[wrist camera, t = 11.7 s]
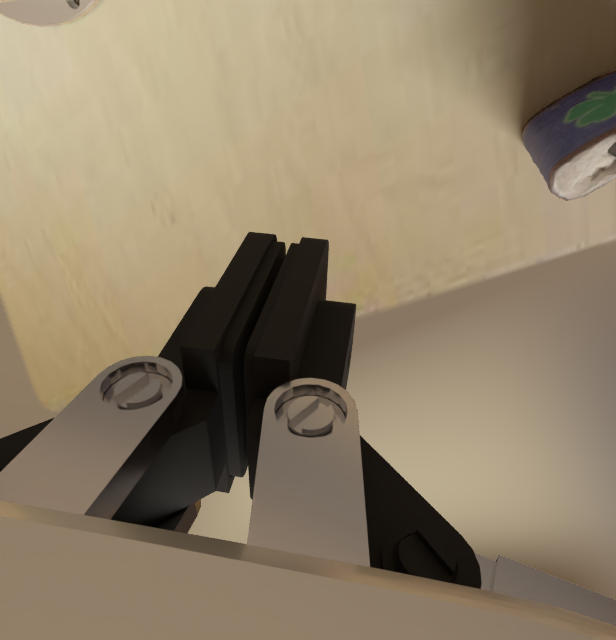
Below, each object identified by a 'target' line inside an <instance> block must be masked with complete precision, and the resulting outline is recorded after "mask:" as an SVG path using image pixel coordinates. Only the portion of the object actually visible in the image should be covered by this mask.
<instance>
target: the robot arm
mask: <svg viewBox="0 0 616 640" xmlns="http://www.w3.org/2000/svg"><path fill="white" fill-rule="evenodd" d="M79 1H80V3H79V2H78V0H0V14H2V15H4V16H5V17H8V18H10V19H13V20H15V21H18V22H21V23H23V24H29V25H34V26H40V27H42V26H56V25H61V24H66V23H70V22H73V21H75V20H77V19H79V18H81V17H83V16H85V15H86V14H87V13H88V12H90V11H91V10H92V9H93V8H94V7H95V6H96V5H97V4H98V3H99V2H100V0H79ZM328 251H329V242H328V240H324V239H314V238H304V237H302V239H301V241H300V243H299V244H296V243H291V245H290V247H289V250H288V252H287V254H286V248H285V243H284V242H277V237H276V235H274V234H265V233H255V232H249V233H248V234H247V236H246V237H245V239H244V241H243V242H242V244H241V246H240V247H239V249H238V251H237V252H236V254H235V256H234V257H233V259H232V261H231V262H230V264H229V266H228V267H227V269H226V270H225V272H224V274H223V275H222V277H221V279H220V280H219V282H218V284H217V285H216V287H203V288H202V290H201V291H200V292H199V294H198V295H197V297H196V298H195V300H194V301H193V303H192V304H191V306H190V308H189V309H188V311H187V312H186V314H185V315H184V317H183V318H182V320H181V322H180V323H179V325H178V326H177V328H176V329H175V331H174V332H173V334H172V336H171V337H170V339H169V340H168V342H167V343H166V345H165V346H164V348H163V349H162V351H161V353H160V354H159V356H158V357H154V356H139V357H132V358H128V359H125V360H121V361H119V362H117V363H115V364H113V365H111V366H109V367H107V368H106V369H105V370H103V371H102V372H101V373H100V374H98V375H97V376H96V377H95V378H94V379H93V380H92V381H91V382H90V383H89V384H88V385H87V386H86V387H85V388H84V389H83V390H82V391H81V392H80V393H79V394H78V395H77V396H76V397H75V398H74V399H73V400H72V401H71V402H70V403H69V404H68V405H67V406H66V407H65V408H64V409H63V410H62V411H61V412H60V413H59V414H58V415H57V416H56V417H55V418H52V419H50V420H47V421H45V422H42V423H39V424H37V425H34V426H32V427H29V428H27V429H24V430H21V431H19V432H16V433H14V434H11V435H9V436H6V437H3V438H1V439H0V640H616V600H614V599H612V598H609V597H607V596H604V595H602V594H599V593H596V592H594V591H591V590H588V589H586V588H583V587H581V586H578V585H575V584H573V583H570V582H568V581H565V580H563V579H560V578H557V577H555V576H552V575H550V574H547V573H544V572H542V571H539V570H536V569H534V568H531V567H529V566H526V565H524V564H521V563H518V562H516V561H513V560H511V559H508V558H505V557H503V556H500V555H498V557H497V559H496V561H493V560H490V559H488V558H485V557H483V556H480V555H478V554H475V553H474V551H473V549H472V548H471V547H470V546H469V544H468V543H467V542H466V541H465V539H464V538H463V537H462V536H461V535H460V534H459V533H458V532H457V531H456V530H455V529H454V528H453V527H452V526H451V525H450V524H449V523H448V522H447V521H446V520H445V519H444V518H443V517H442V516H441V515H440V514H439V513H438V512H437V511H436V510H435V509H434V508H433V507H432V506H431V505H430V504H429V503H428V502H427V501H426V500H425V499H424V498H423V497H422V496H421V495H420V494H419V493H418V492H417V491H416V490H415V489H414V488H413V487H412V486H411V485H410V484H409V483H408V482H407V481H406V480H405V479H404V478H403V477H402V476H401V475H400V474H399V473H397V471H395V469H393V467H392V466H391V465H390V464H389V463H388V462H387V461H385V459H383V457H381V456H380V455H379V454H378V453H377V452H376V451H375V450H374V449H373V448H372V447H371V446H370V445H369V444H368V443H367V442H366V441H365V440H364V439H363V438H362V437H361V436H360V434H359V421H358V410H357V407H356V404H355V401H354V399H353V398H352V397H351V395H350V394H349V393H348V392H347V391H346V386H347V379H348V374H349V367H350V359H351V352H352V344H353V334H354V324H355V314H356V304H352V303H344V302H335V301H326V287H327V269H328ZM247 467H248V468H249V484H250V497H251V499H252V500H253V501H252V509H251V517H250V525H249V533H248V541H247V544H242V543H237V542H231V541H226V540H220V539H215V538H209V537H204V536H198V535H193V534H187V533H188V531H189V530H190V528H191V526H192V524H193V523H194V521H195V519H196V517H197V515H198V513H199V510H200V507H201V499H202V498H204V497H205V496H207V495H209V494H211V493H213V492H215V491H220V492H226V493H229V491H230V488H231V486H232V483H233V480H234V477H235V476H237V477H243V476H244V475H245V472H246V470H247Z"/></svg>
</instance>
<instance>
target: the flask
mask: <svg viewBox="0 0 616 640" xmlns="http://www.w3.org/2000/svg"><path fill="white" fill-rule="evenodd" d="M522 141H523V145H524V146H525V148H526V149H527V151H528V152H529V153H530V155H531V157H532V160H533V162H534V163H535V164H536V165H537V167H538V168H539V170H540V173H541V174H542V175H543V177H544V179H545V181H546V182H547V185H548V188H549V190H550V192H551V193H553V194H554V195H556V196H557V197H559V198H561V199H564V200H566V201H568V200H574V199H578V198H581V197H584V196H586V195H588V194H590V193H591V192H593V191H595V190H596V189H598V188H600V187H602V186H604V185H605V184H607V183H608V182H610V181H612V180H614V179H616V68H615V69H613V70H611V71H608V72H606V73H605V74H603V75H601V76H598V77H595V78H594V79H592V80H591V81H590V82H588V83H587V84H585V85H584V86H581V87H579V88H577V89H575V90H574V91H573V92H570V93H568V94H567V95H564V96H563V97H562V98H561V99H559V100H557V101H554V102H553V103H551V104H550V105H548V106H547V107H546V108H543V109H542V110H541V111H539V112H538V113H537V114H536V115H535V116H534V117H532V118H531V119H530V120H529V121H528V123H527V124H526V125H525V126H524V130H523V133H522Z"/></svg>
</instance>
